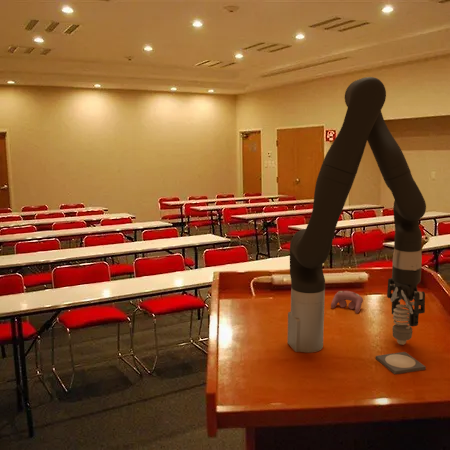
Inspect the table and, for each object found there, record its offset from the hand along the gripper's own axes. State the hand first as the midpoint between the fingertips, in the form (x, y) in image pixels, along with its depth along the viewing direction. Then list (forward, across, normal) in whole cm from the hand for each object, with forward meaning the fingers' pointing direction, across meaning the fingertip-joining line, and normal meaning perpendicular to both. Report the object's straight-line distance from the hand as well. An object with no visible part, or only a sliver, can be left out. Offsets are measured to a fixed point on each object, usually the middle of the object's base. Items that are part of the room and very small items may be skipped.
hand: (404, 320), depth 150 cm
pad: (+7, +10, -8) cm, 15 cm away
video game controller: (+8, -30, -2) cm, 31 cm away
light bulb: (+8, 0, -1) cm, 8 cm away
